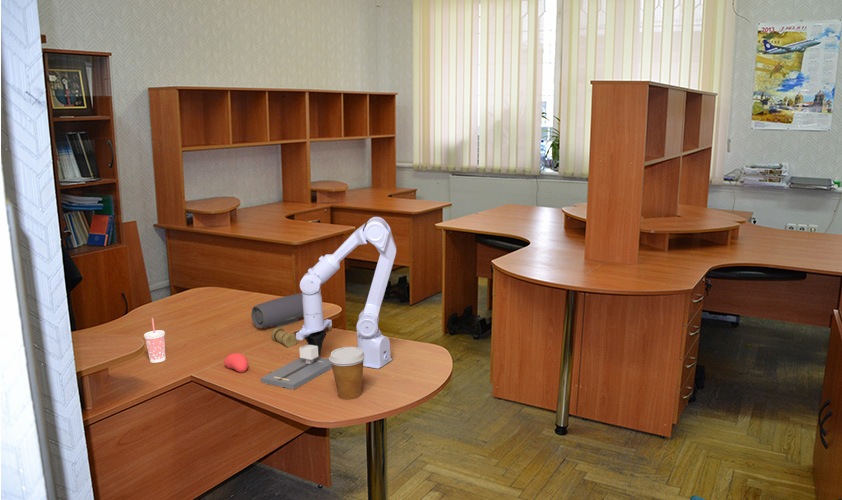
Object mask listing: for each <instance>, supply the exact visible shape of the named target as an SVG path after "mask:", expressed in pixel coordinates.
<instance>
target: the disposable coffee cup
mask: <svg viewBox="0 0 842 500" xmlns="http://www.w3.org/2000/svg"><path fill="white" fill-rule="evenodd" d="M364 358H365V354H364V353H363V350H362V349H360V348H358V346H357V347H356V346H343V347H339V348H336V349H334V350H332V351H331V352H330V356H329V357H328V359H329V360H330V362H331V364H332V368H331V369H332V372H333V373H332V374H333V378H334V383H335V387H336V392H337V396H338V398H340V399H342V400H354V399H357V398H359V397H360V396H362V388H363V375H364V374H363V373H364V366H363V360H364Z"/></svg>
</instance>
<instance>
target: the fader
mask: <svg viewBox="0 0 842 500" xmlns="http://www.w3.org/2000/svg"><path fill="white" fill-rule="evenodd" d="M298 350H299V358H304V359H306V363H308V364H311V363H313V359H314V358H316V357H319V356H318V346H314V345H308V343H305V344H303V345H301V346H299V349H298Z"/></svg>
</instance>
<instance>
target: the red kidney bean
mask: <svg viewBox="0 0 842 500" xmlns="http://www.w3.org/2000/svg"><path fill="white" fill-rule="evenodd" d="M223 363H224V366H225V367H226V368H228V369H231V370H235V371H236V372H238V373H245V372H246V371H247V370H248V368H249V361H248V358H247V357H246V356H245V355H244V354H243V353H239V352H235V353H230V354H229V355H227V356H226V357H225V359H224V361H223Z"/></svg>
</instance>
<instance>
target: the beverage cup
mask: <svg viewBox="0 0 842 500" xmlns="http://www.w3.org/2000/svg"><path fill="white" fill-rule="evenodd" d="M151 324H152V330H151V331H150V330H149V331H148V332H144V334H143V337H144V339H145V343H146V347H147V352H148V357H149V362H150V363H153V364H154V363H160V362H161V363H163V362H164V361H166V343H165V341H166V340H165V335H166V332H165V330H161V329H160V330H159V329H158V330H157V329H155V322H154V317H151Z"/></svg>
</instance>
